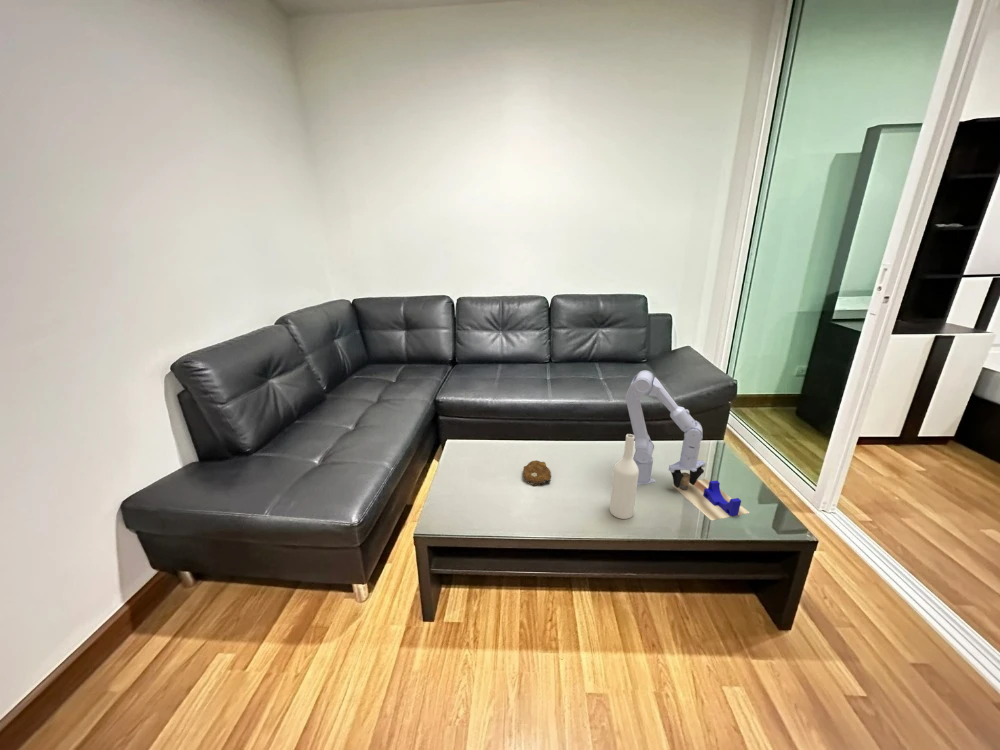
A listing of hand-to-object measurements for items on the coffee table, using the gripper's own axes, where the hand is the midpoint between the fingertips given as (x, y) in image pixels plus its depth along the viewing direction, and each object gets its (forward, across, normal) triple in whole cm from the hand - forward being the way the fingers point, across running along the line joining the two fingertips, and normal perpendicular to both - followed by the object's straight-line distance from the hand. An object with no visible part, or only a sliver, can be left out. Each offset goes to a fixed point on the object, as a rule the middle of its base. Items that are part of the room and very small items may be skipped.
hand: (683, 484), depth 150 cm
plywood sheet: (+2, +5, -8) cm, 9 cm away
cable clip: (+2, +6, -12) cm, 13 cm away
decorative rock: (+2, -52, +22) cm, 56 cm away
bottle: (+2, -30, -6) cm, 31 cm away
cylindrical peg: (+1, 0, 0) cm, 1 cm away
